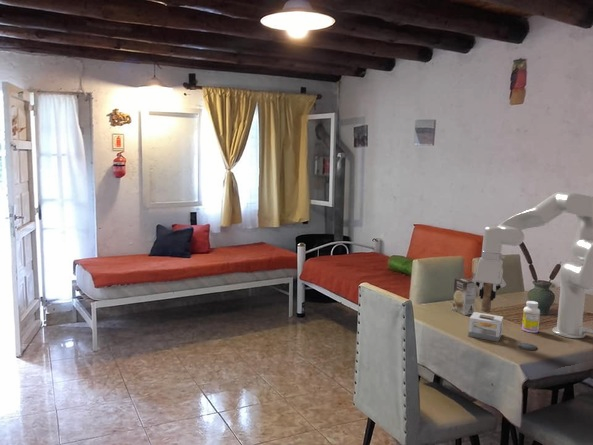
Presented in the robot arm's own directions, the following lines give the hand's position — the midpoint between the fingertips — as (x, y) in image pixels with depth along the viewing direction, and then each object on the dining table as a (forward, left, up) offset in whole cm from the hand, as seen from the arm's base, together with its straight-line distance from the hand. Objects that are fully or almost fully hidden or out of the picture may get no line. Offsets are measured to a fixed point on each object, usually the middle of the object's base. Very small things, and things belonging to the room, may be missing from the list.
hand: (486, 298), depth 219 cm
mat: (-17, +5, -16) cm, 24 cm away
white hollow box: (0, 0, -16) cm, 16 cm away
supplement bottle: (-16, -18, -16) cm, 29 cm away
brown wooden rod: (0, 0, -5) cm, 5 cm away
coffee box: (+15, -30, -16) cm, 37 cm away
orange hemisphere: (0, 0, -12) cm, 12 cm away
